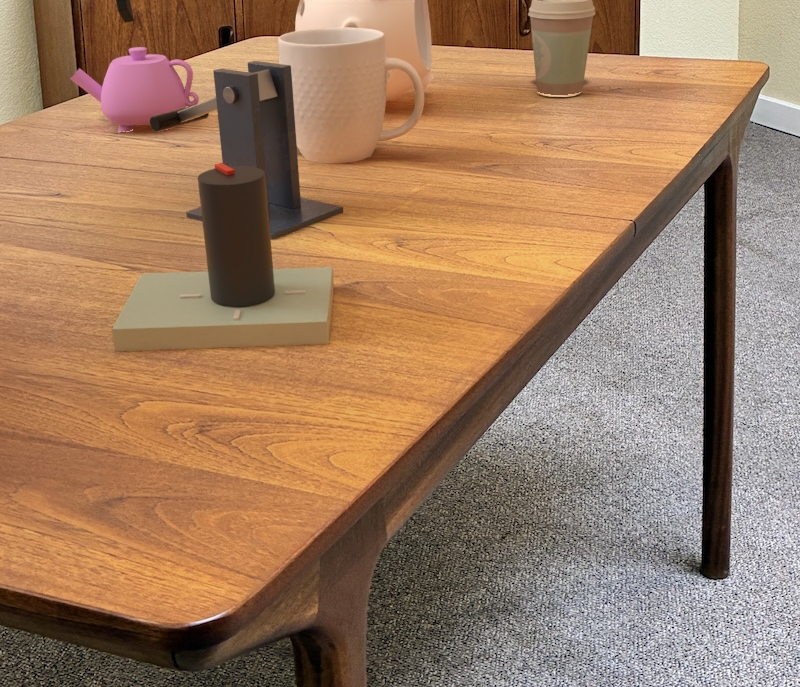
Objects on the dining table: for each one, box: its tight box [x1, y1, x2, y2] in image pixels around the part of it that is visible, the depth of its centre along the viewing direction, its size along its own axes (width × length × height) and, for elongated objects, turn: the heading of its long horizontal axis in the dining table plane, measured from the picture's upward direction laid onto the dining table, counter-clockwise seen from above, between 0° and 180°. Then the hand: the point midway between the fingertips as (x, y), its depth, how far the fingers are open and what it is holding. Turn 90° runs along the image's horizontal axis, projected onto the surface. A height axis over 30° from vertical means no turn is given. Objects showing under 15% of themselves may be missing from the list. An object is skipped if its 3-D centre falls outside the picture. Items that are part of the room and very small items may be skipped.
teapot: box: [70, 46, 200, 132], centre depth 134 cm, size 10×15×9 cm
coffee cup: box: [527, 0, 596, 95], centre depth 142 cm, size 8×9×12 cm
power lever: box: [149, 69, 278, 133], centre depth 99 cm, size 13×6×2 cm, turn 51°
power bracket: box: [185, 60, 344, 241], centre depth 97 cm, size 11×9×14 cm
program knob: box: [197, 162, 275, 307], centre depth 74 cm, size 4×4×9 cm
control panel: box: [111, 266, 335, 352], centre depth 77 cm, size 14×10×3 cm
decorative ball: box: [294, 0, 435, 103], centre depth 137 cm, size 20×17×20 cm
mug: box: [277, 27, 425, 165], centre depth 116 cm, size 15×11×13 cm
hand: (211, 2), depth 88 cm, fingers open, 13 cm apart
